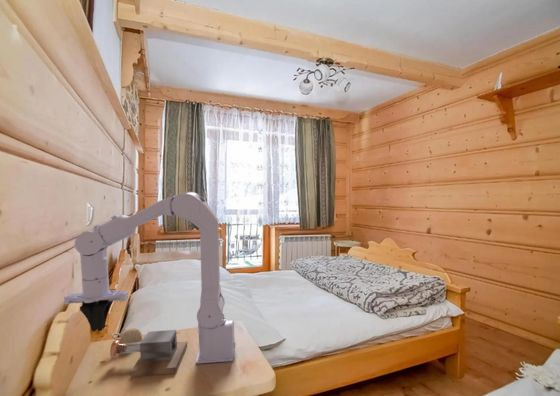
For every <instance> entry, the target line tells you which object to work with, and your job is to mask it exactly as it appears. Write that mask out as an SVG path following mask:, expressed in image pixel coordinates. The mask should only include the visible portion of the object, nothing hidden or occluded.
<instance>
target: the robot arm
mask: <svg viewBox="0 0 560 396" xmlns="http://www.w3.org/2000/svg"><path fill="white" fill-rule="evenodd" d="M174 215H175V216H176V217H178V218H180V219H183V220H185V221H189V222H190V223H191V224H193V225H194V226H195V227H197V228H198V229H199V234H200V236H199V239H200V240H199V241H200V245H199V247H200V275H201V277H200V279H201V286H200V287H201V292H200V303H199V304H200V305H199V308H198V310H197V312H196V320H197V324H198V327H197V328H198V329H197V330H198V350H199V351H198V353H197V356H196V359H195V364H209V363H211V364H212V363H221V362H222V363H224V362H225V363H226V362H232V361H234V356H235V349H236V340H235V321H234V320H233V319H227V318H226V316H225V314H224V313H223V312H224V307H225V301H226V300H225V298H224V296H223V294H222V288H221V284H220V282H221V279H220V277H221V276H220V275H221V274H220V241H219V240H220V239H219V238H220V236H219V232H220V231H219V227H220V226H219V218H218V216H217V215H216V213H214V210H213V209H212V208H211V207H210V204H208V202H207V200H206V199H205V198H204V197H202V196H201V195H200V194H198V193H196V192H194V191H187V192H181V193H178V194H177V195H174V196H170V197H166V198H164V199H161V200H159V201H157V202H155V203H154V204H152V205H150V206H148V207H145V208H143V209H142V210H140V211H138V212H136V213H133V215H130V216H128V215H125V214H121V215H119V214H116V215H113V216H111V217H110V218H111V219H110V220H108V221H106V222H104V223H103V224H96V225H94V226H93V228H94V229H91V230H85V231H82V232H81V233H80V234H79V235H77V236H76V238H75V240H74V247H75V249H76V251H77V252H78V253H79V254H80V271H81V284H82V292H80V293H79V292H77V293H70V294H67V295H65V296H64V298H63V299H64V305H71V304H79V303H80V304H81V303H82V304H81V306H80V307H79V311H80V312H81V313H82V314H83V316H84V317H85V318H86V320H87V322H88V324H89V326H90V329H91V331H92V332H96V331H98V332H102V331H103V330H104V329H105V328H106V321H107V317H108V314H109V311H110V308H111V307H112V305H113V303H114V302H116V301H117V302H118V301H120V302H126V301H127V300H128V299H129V296H128V294H129V293H128V292H129V291H127V290H125V291H124V290H111V289H110V282H109V281H110V280H109V279H110V278H109V267H108V265H109V264H108V247H110V246H112V245H115V244H117V243H119V242H120V241H121V242H122V241H123V240H125V239H127V238H129V237H132V235H134V234H135V232H136V229H137V228H138V227H139V226H141V225H144V224H146V223H148V222H150V221H152V220H154V219H157V218H159V217H161V216H170V217H171V216H174Z"/></svg>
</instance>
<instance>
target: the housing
mask: <svg viewBox="0 0 560 396" xmlns="http://www.w3.org/2000/svg"><path fill="white" fill-rule="evenodd" d="M177 336H178V335H177V330H176V329H171V330H170V329H169V330H152V331H148V332H147V333H146V334H145V336H144V337H143V338H142V339H143V340H142V341H141V343H140V352H139V353H140V357H139V358H138V359H137V360H136V362H135V364H134V365H133V367H132V368H131V370H130V376H131V378H132V377H133V378H134V377H145V376H146V377H147V376H159V375H168V374H169V375H173V374H177V372H178V371H179V367H180V365H181V364H182V360H183V358H184V356H185V353H186V351H187V348H188V341H178V337H177Z"/></svg>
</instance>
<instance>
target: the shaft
mask: <svg viewBox="0 0 560 396" xmlns="http://www.w3.org/2000/svg"><path fill="white" fill-rule="evenodd" d="M140 343H141V342H133V343H122V341H121V340H115V339H114V340H113V341H112V343H111V344H110V348H109V349H110V352H109V353H110V355H109V356H110V357H111V358H112V359H113V358H119V357H120V356H121V354H122V355H123V354H134V353H140Z"/></svg>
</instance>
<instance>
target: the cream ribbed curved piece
mask: <svg viewBox="0 0 560 396" xmlns="http://www.w3.org/2000/svg"><path fill="white" fill-rule="evenodd" d="M142 335H143V334H142V331H141V330H140V329H139V328H138V327H131V328H128V329H126V330H124V331H123V332H121V333H120V332H113V333H112V334H111V335H110V336H111V338H112V339H113V340H114V341H115V340H121V341H122V343H133V342H141V341H142V340H143V339H144V338H143V336H142ZM116 336H119V337H116Z"/></svg>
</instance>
